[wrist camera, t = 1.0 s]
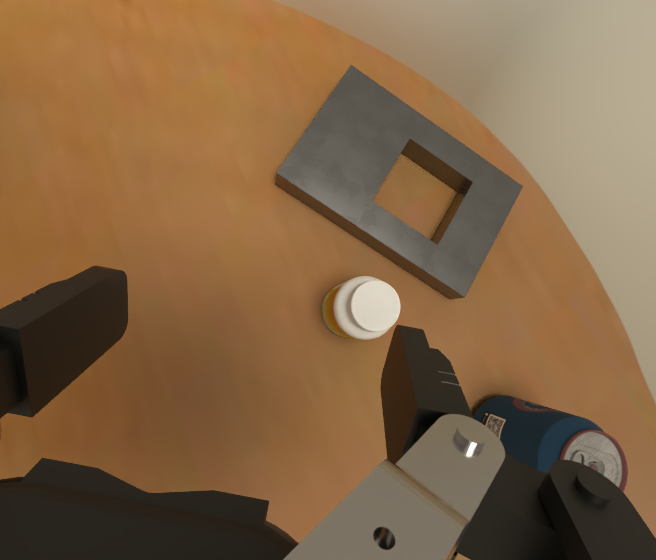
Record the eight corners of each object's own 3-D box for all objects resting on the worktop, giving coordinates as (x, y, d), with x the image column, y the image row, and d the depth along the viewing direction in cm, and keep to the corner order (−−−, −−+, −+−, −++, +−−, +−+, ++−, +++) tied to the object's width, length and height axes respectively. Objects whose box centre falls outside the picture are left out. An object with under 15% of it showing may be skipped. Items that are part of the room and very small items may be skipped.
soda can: (533, 407, 41) (644, 442, 29) (513, 471, 39) (621, 534, 28) (478, 383, 40) (570, 407, 28) (456, 447, 39) (543, 501, 27)
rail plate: (275, 184, 38) (276, 172, 35) (344, 83, 41) (351, 64, 38) (449, 299, 40) (464, 297, 37) (504, 195, 43) (523, 186, 40)
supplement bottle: (339, 348, 38) (367, 355, 28) (310, 302, 38) (328, 295, 28) (382, 318, 39) (422, 316, 29) (354, 274, 39) (385, 258, 29)
